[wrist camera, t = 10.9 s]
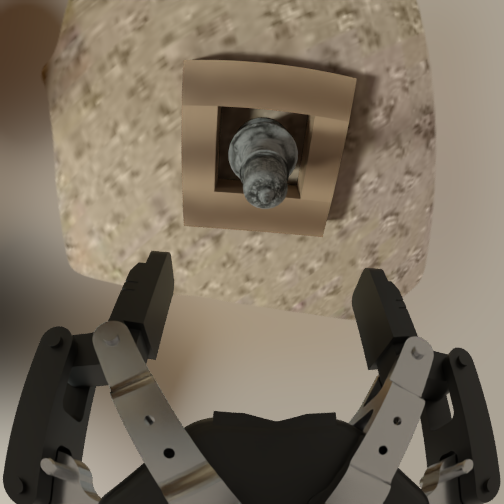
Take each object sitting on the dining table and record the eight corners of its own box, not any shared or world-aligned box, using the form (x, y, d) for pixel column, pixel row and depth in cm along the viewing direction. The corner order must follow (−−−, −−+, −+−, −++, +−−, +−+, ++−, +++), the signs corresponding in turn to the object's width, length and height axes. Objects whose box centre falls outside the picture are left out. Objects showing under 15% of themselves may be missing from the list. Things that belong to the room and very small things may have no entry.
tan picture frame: (191, 60, 21) (183, 60, 19) (346, 76, 22) (356, 78, 19) (189, 210, 31) (184, 225, 28) (317, 221, 31) (322, 236, 29)
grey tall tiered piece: (226, 119, 25) (206, 163, 15) (289, 111, 24) (313, 149, 15) (236, 175, 28) (226, 247, 19) (295, 168, 28) (317, 238, 18)
